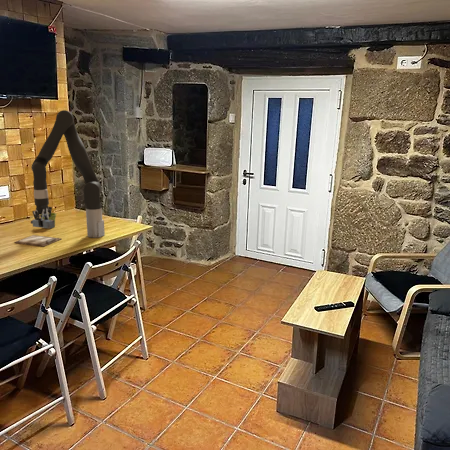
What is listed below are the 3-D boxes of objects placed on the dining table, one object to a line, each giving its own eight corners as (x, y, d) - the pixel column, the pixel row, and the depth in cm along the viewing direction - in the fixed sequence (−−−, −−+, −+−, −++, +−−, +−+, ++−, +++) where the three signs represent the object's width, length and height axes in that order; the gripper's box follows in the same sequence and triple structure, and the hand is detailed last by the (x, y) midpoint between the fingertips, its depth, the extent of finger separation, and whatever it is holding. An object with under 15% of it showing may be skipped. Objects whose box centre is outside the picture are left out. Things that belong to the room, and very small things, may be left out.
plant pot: (38, 228, 270) (37, 214, 268) (50, 224, 279) (49, 212, 276) (48, 230, 266) (47, 216, 264) (60, 226, 274) (59, 213, 272)
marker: (54, 226, 246) (54, 220, 245) (50, 228, 242) (49, 221, 241) (34, 224, 250) (33, 218, 249) (29, 226, 246) (28, 219, 245)
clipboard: (61, 239, 248) (61, 236, 247) (44, 246, 234) (43, 243, 233) (33, 235, 253) (33, 233, 253) (14, 243, 239) (14, 239, 239)
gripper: (37, 199, 233) (40, 229, 238) (55, 195, 246) (57, 223, 251) (26, 198, 235) (29, 228, 240) (44, 194, 249) (46, 222, 253)
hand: (43, 225), depth 245 cm, fingers closed on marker, 4 cm apart
